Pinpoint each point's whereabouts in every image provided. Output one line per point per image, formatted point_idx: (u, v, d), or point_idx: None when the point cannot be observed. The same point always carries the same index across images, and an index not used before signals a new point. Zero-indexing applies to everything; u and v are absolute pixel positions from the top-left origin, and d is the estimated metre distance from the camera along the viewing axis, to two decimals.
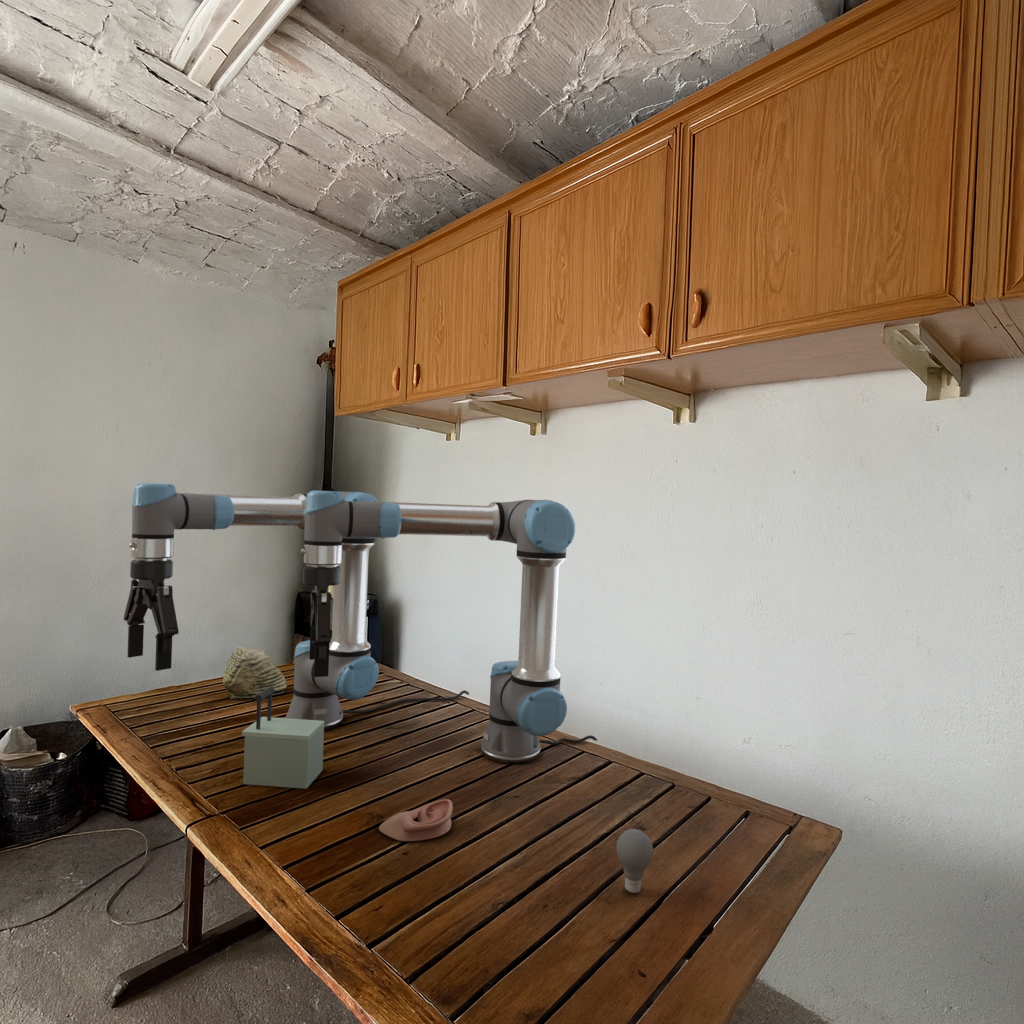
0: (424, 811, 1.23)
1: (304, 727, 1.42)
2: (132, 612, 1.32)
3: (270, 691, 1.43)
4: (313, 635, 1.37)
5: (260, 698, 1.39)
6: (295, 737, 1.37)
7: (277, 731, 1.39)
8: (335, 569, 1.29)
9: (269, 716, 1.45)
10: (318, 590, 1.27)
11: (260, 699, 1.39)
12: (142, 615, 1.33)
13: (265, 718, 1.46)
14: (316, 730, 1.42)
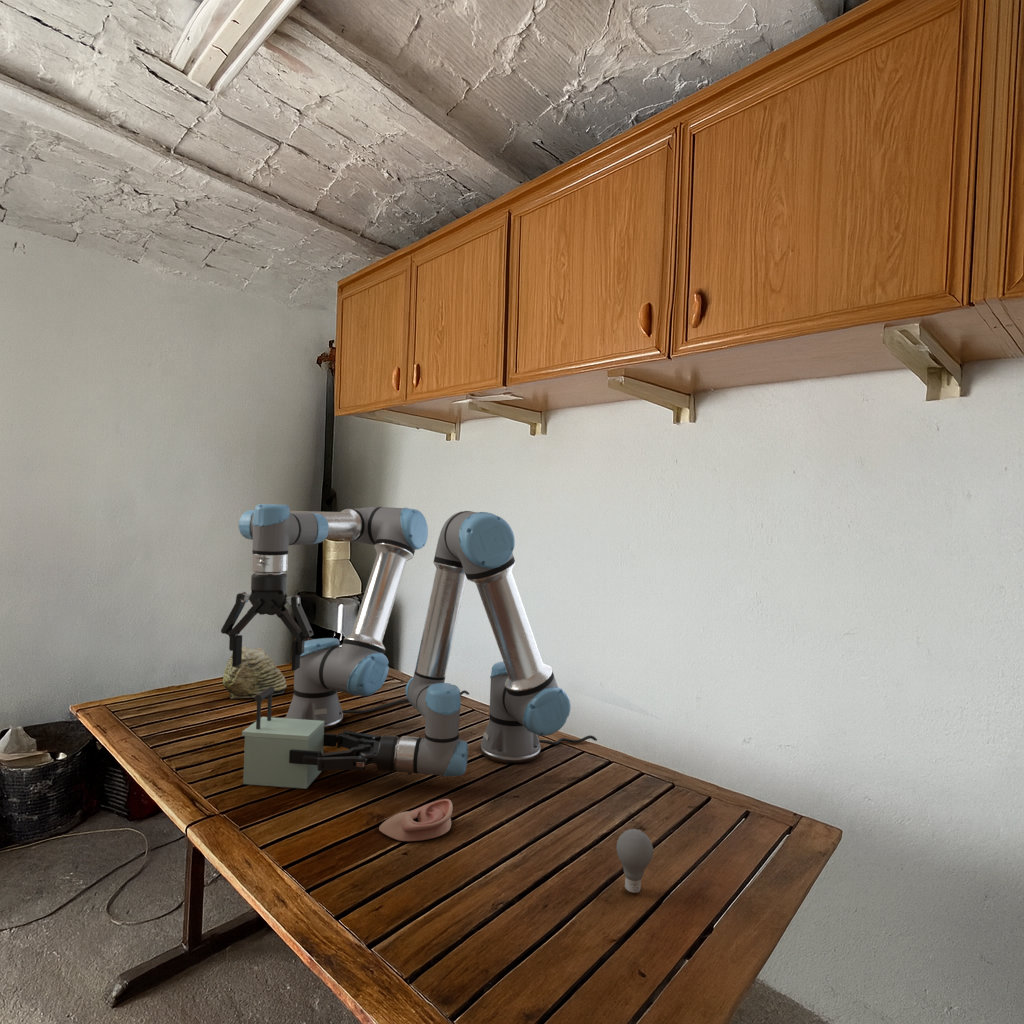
0: (424, 811, 1.23)
1: (304, 727, 1.42)
2: (240, 624, 1.41)
3: (270, 691, 1.43)
4: None
5: (260, 698, 1.39)
6: (295, 737, 1.37)
7: (277, 731, 1.39)
8: None
9: (269, 716, 1.45)
10: None
11: (260, 699, 1.39)
12: (244, 626, 1.43)
13: (265, 718, 1.46)
14: (316, 730, 1.42)
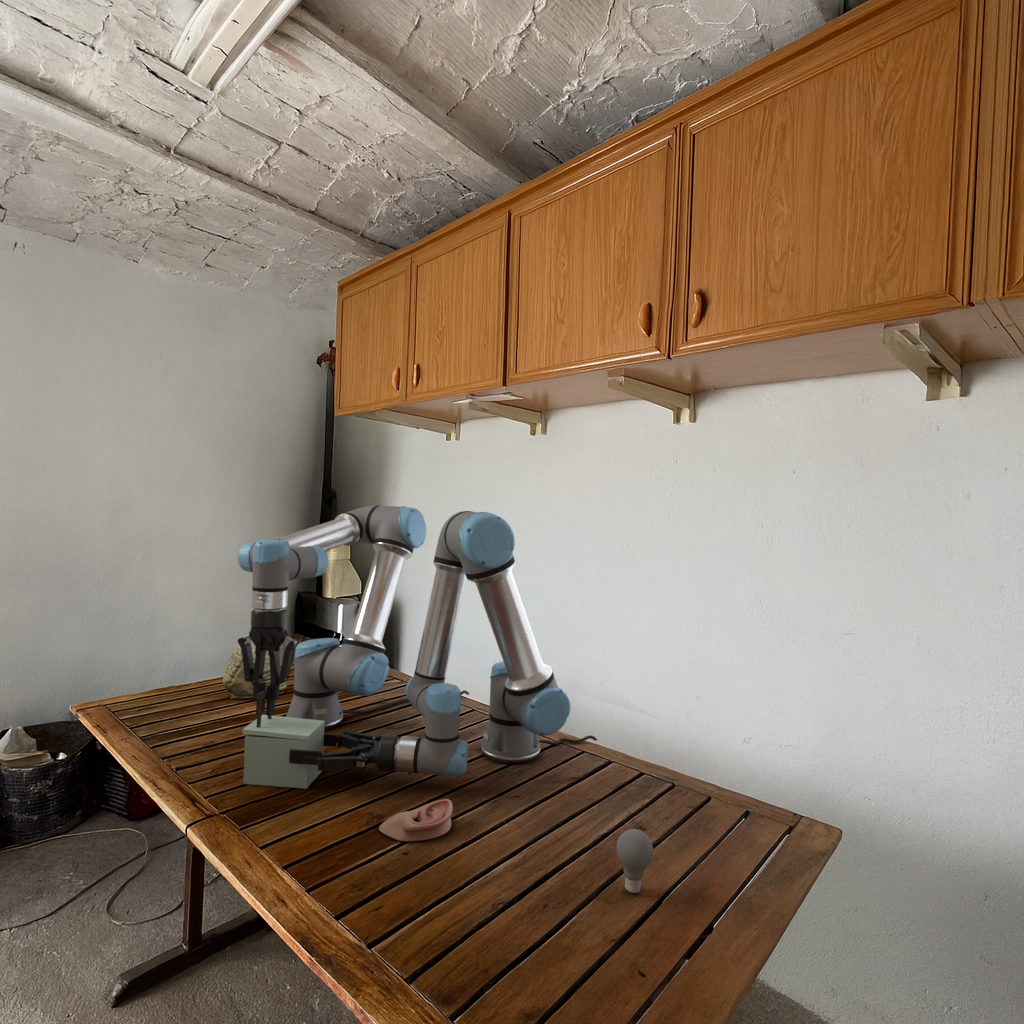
0: (424, 811, 1.23)
1: (304, 727, 1.42)
2: (256, 668, 1.41)
3: None
4: None
5: (261, 696, 1.39)
6: (295, 736, 1.37)
7: (277, 730, 1.39)
8: None
9: None
10: None
11: (261, 697, 1.39)
12: (262, 669, 1.43)
13: (265, 716, 1.46)
14: (316, 730, 1.42)
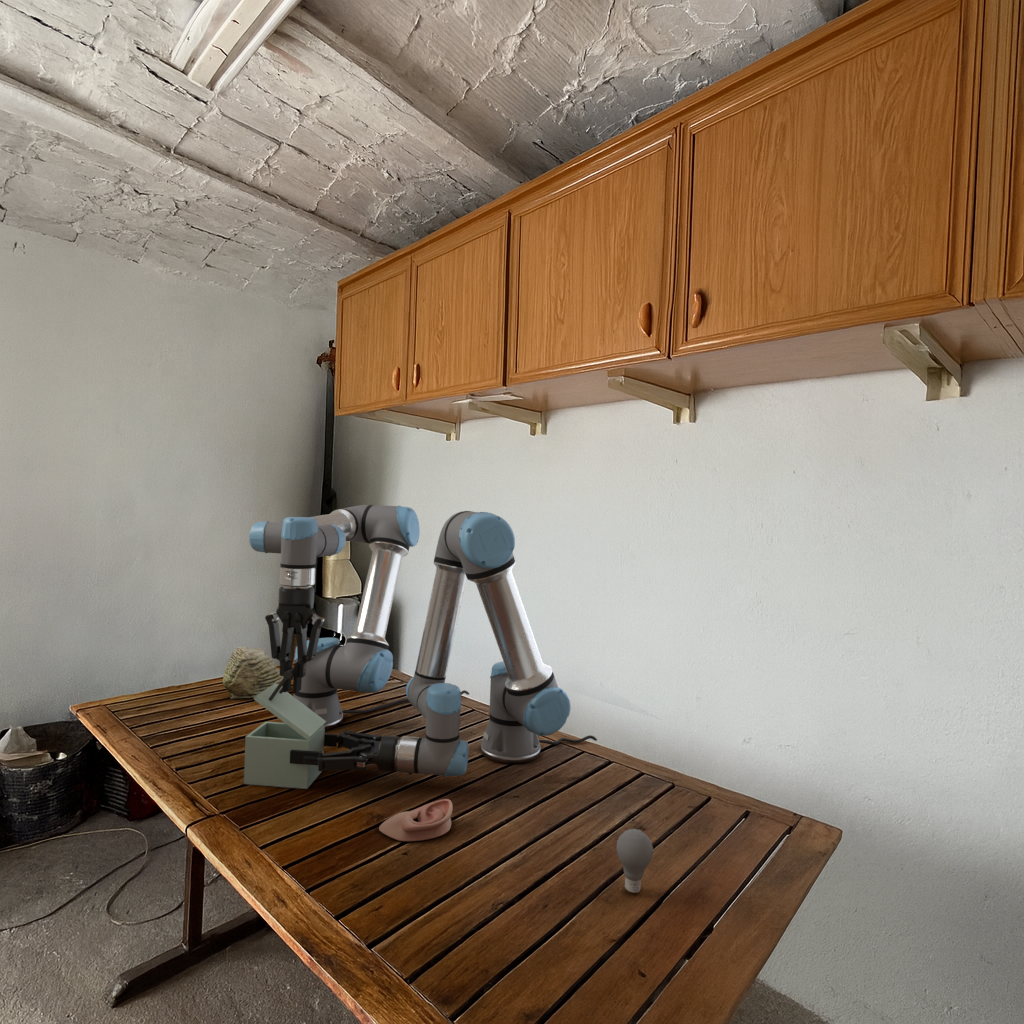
0: (424, 811, 1.23)
1: (308, 721, 1.42)
2: (283, 645, 1.41)
3: None
4: None
5: (288, 676, 1.39)
6: (298, 730, 1.37)
7: (285, 713, 1.39)
8: None
9: None
10: None
11: (288, 677, 1.39)
12: (289, 646, 1.43)
13: None
14: (317, 730, 1.42)
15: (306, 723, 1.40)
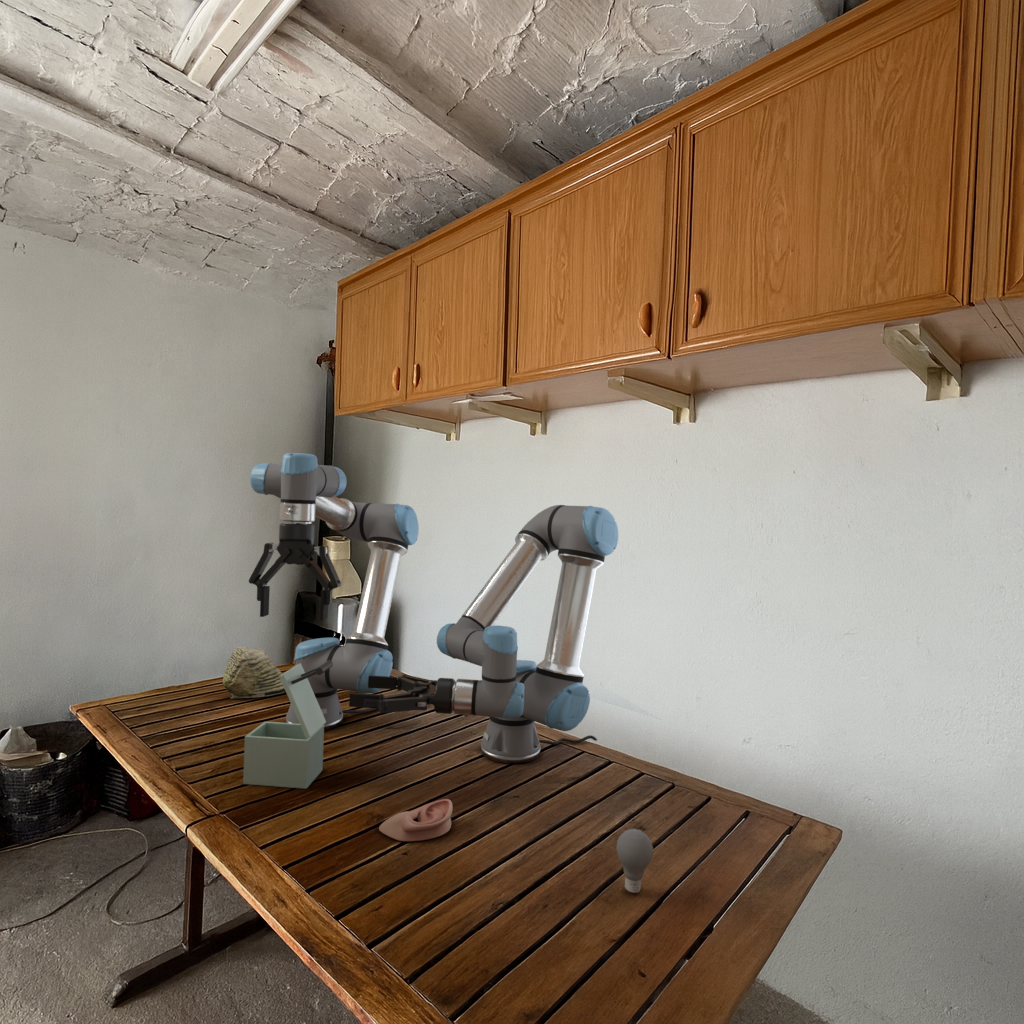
0: (424, 811, 1.23)
1: (313, 718, 1.42)
2: (268, 574, 1.41)
3: (328, 668, 1.43)
4: None
5: (320, 673, 1.38)
6: (303, 726, 1.37)
7: (299, 703, 1.38)
8: None
9: (305, 675, 1.44)
10: None
11: (319, 673, 1.38)
12: (272, 576, 1.42)
13: (301, 669, 1.46)
14: (316, 730, 1.42)
15: (311, 720, 1.40)
